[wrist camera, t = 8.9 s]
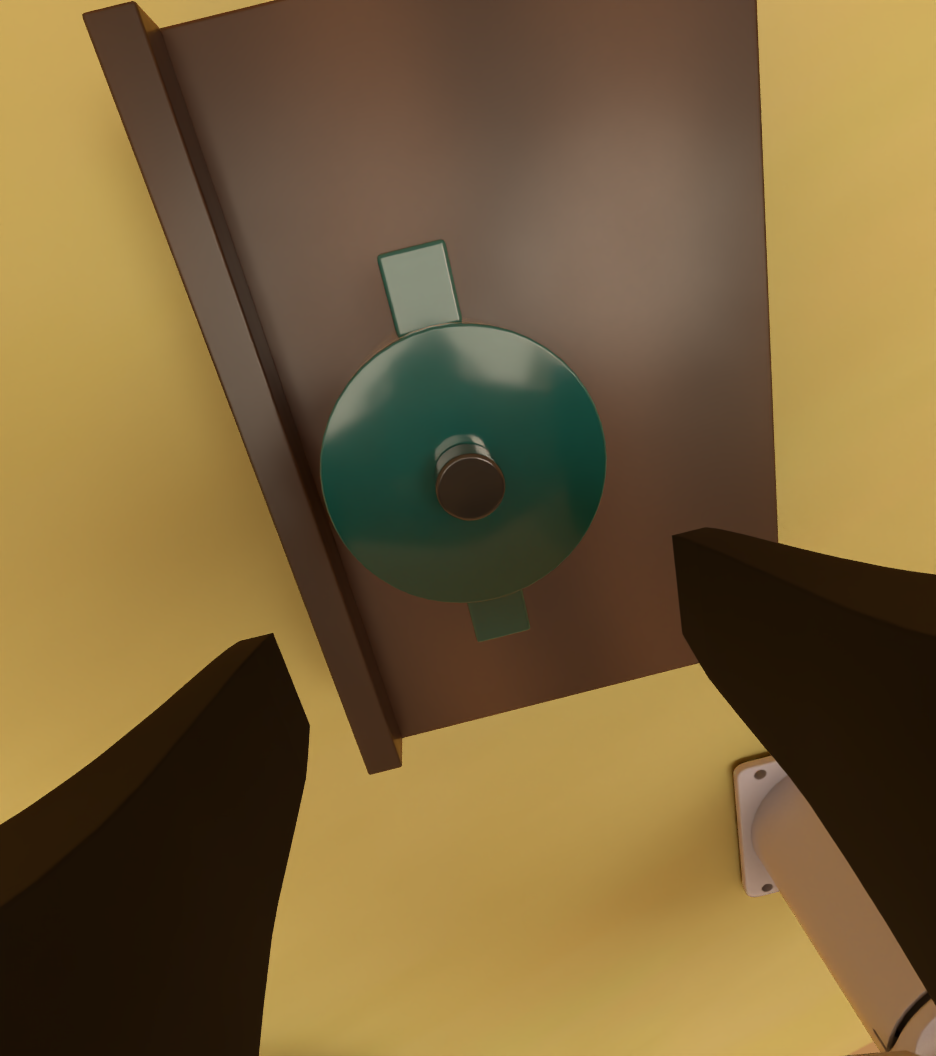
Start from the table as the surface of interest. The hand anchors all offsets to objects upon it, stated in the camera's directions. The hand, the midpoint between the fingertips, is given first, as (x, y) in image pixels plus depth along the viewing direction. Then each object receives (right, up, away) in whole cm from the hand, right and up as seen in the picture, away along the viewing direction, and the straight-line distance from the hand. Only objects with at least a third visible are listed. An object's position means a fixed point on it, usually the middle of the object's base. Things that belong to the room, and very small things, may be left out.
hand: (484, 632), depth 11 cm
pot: (-1, +4, +5) cm, 6 cm away
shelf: (+1, +7, +9) cm, 11 cm away
